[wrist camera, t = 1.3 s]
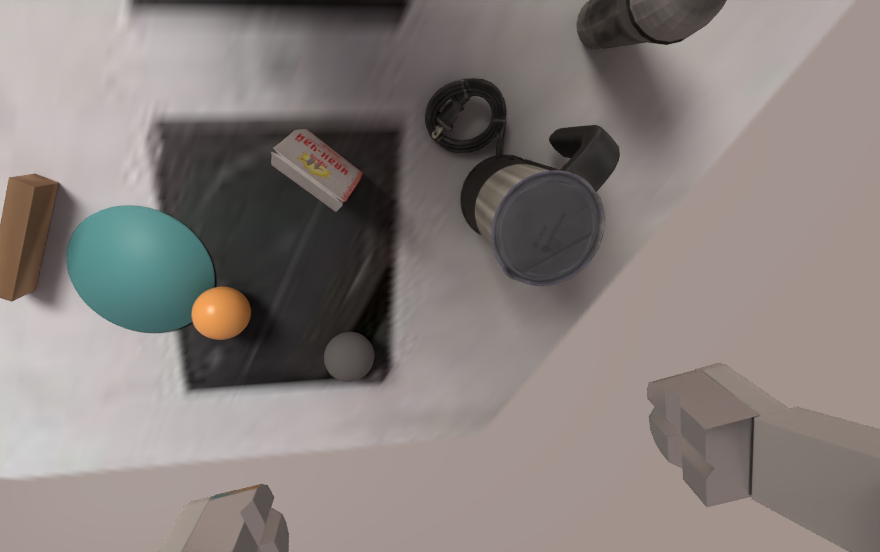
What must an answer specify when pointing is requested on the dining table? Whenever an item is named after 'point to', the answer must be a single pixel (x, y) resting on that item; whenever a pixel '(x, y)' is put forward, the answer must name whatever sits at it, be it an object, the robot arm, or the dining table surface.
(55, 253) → the dining table surface
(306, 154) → the white carton box
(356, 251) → the dining table surface
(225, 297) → the orange ball
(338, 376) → the gray ball
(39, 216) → the wall
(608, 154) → the milk frother
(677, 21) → the beverage cup
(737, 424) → the robot arm
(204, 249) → the teal ellipsoid
